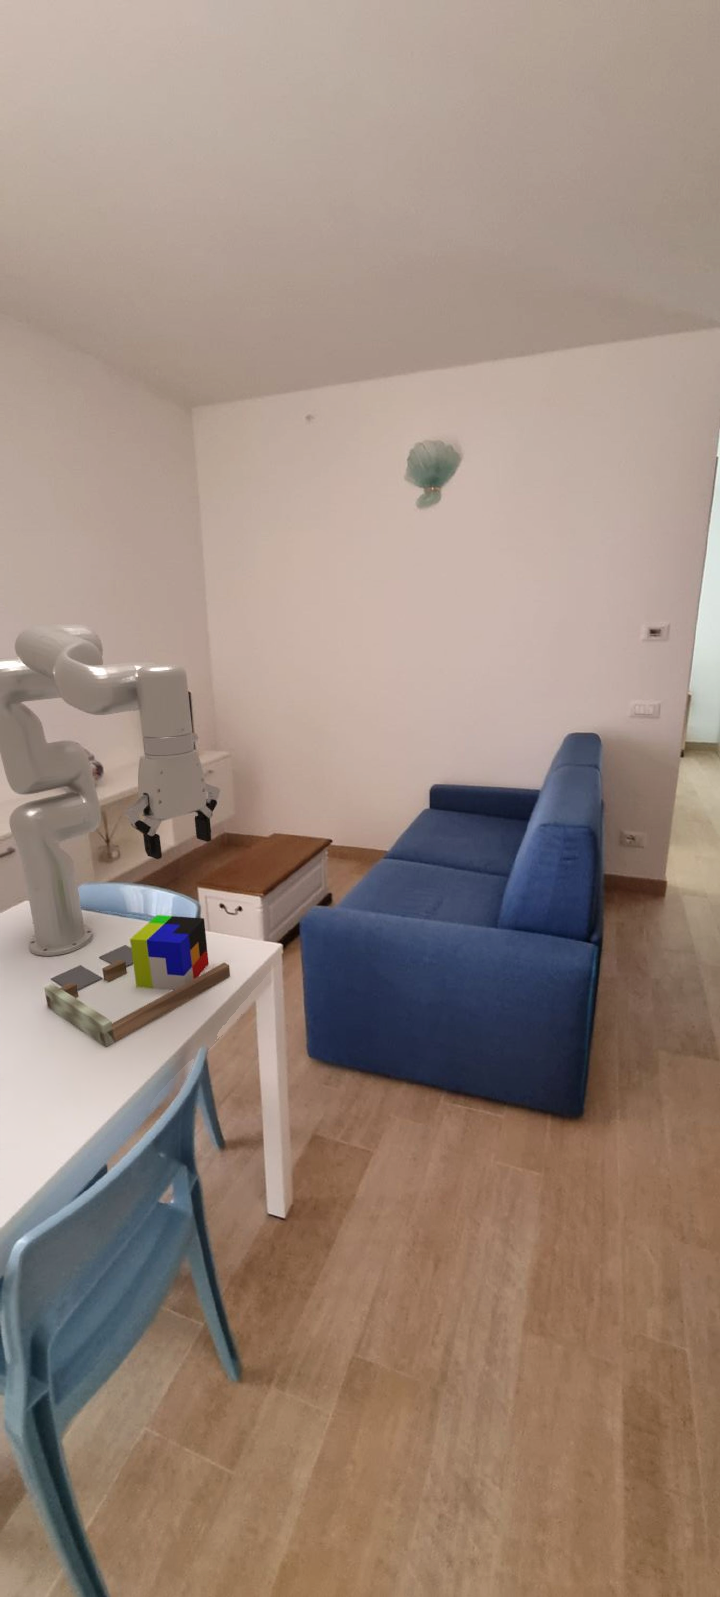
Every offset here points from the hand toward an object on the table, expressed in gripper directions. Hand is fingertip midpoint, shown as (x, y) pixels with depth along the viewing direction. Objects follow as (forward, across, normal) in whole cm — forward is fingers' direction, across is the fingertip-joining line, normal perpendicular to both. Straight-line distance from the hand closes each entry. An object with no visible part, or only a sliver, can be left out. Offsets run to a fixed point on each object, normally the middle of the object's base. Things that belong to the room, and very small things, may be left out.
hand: (180, 848), depth 105 cm
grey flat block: (+30, +8, -27) cm, 41 cm away
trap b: (+30, -2, -27) cm, 40 cm away
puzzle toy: (+30, -4, -13) cm, 33 cm away
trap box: (+30, +3, -13) cm, 33 cm away
